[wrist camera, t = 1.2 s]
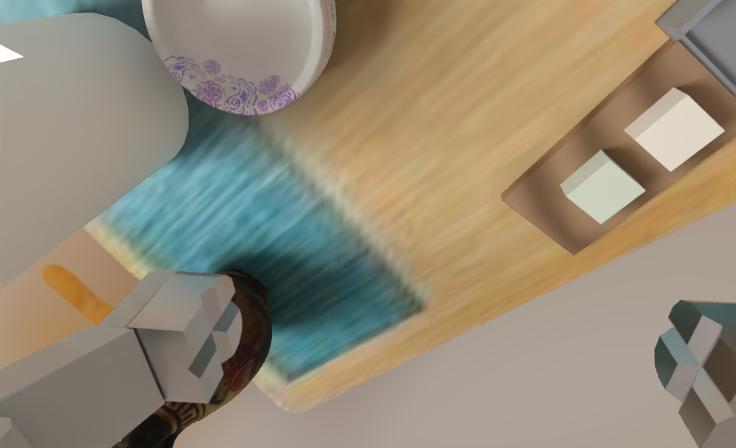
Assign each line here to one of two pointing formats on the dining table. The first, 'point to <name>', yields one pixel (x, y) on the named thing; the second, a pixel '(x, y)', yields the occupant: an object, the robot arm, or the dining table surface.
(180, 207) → the dining table surface
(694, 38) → the grey bin
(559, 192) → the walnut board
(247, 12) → the white purple floral bowl
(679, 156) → the cream tile
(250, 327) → the ceramic jug
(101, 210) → the cylinder
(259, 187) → the dining table surface
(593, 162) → the sage tile
